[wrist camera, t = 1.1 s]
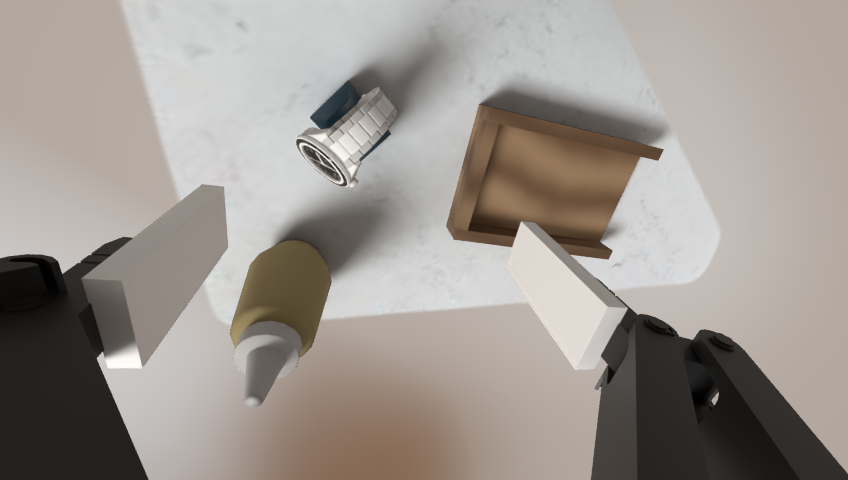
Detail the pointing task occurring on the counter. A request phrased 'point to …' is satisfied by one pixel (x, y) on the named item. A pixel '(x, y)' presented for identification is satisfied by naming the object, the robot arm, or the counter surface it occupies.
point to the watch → (346, 132)
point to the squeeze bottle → (278, 314)
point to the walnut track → (541, 181)
